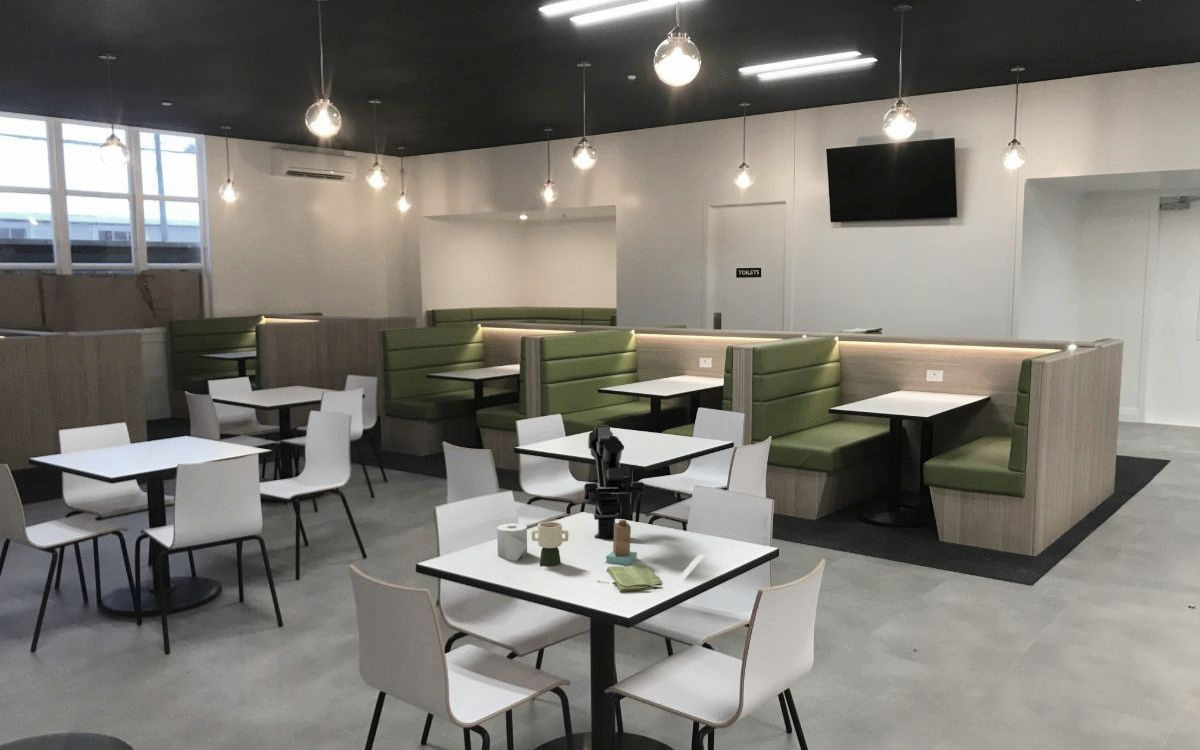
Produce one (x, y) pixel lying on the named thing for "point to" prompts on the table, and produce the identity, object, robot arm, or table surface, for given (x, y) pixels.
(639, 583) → the washcloth
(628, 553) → the walnut pillar
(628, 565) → the slate slab
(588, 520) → the table surface
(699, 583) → the table surface
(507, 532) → the toilet tissue
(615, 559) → the teal slab
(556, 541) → the character mug
